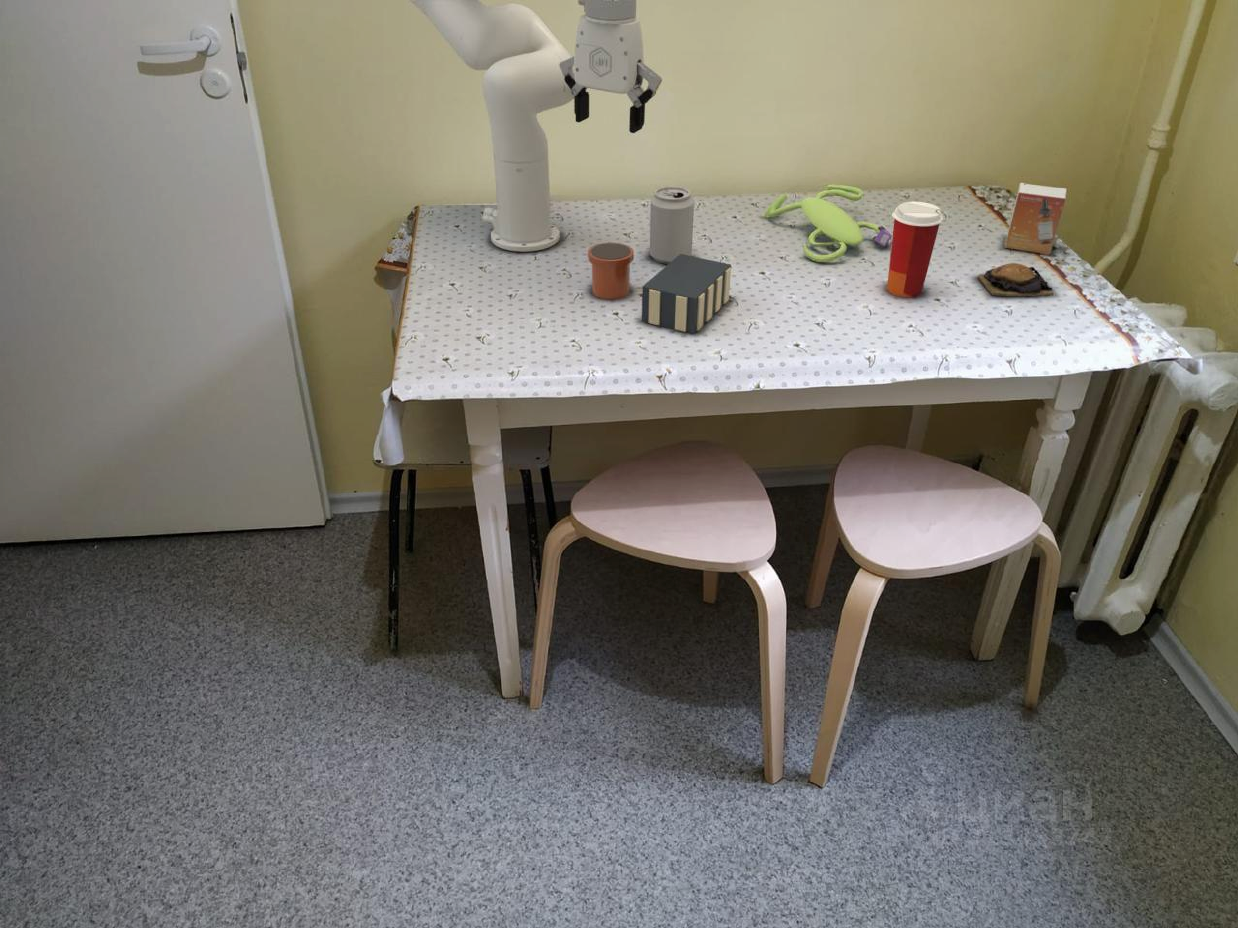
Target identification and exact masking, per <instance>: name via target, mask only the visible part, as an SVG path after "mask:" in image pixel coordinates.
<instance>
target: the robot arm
mask: <svg viewBox="0 0 1238 928" xmlns="http://www.w3.org/2000/svg"><path fill="white" fill-rule="evenodd" d="M409 1H410V2H411V3H412V4H413V5H414V6H415V7H416V8H417V9H419V10H420V12H421V13H422V14H423V15H425V16H426V18H427V19H428V20H429V21H430V22H431V23H432V24H433V26H434V27H435V29H436V30H437V31H438V33H440V35H441V37H443V38H444V40H445V41H446V42H447V44H448V45H449V46H450V47H451V48H452V50H453V51H454V52H455V53H456V55H458V57H459V59H461V61H463V63H464V64H465V65H466V66H467V67H468V68H470V69H472V70H475V71H485V74H484V75H483V78H482V94H483V100H484V103H485V107H486V110H487V115H488V120H489V124H490V131H491V141H492V153H493V162H494V163H493V166H494V178H495V179H494V181H495V193H496V195H495V196H496V206H497V207H496V208H497V209H496V208H492V207H491V208H490V207H486V208H484V210H483V212H482V213H483V215H482V217H481V221H482V223H484V224H492V226H493V229H492V231H491V232H490V240H491V241H490V242H491V243H492V244H493V245H494V246H496V247H497V248H500V249H501V250H506V251H508V252H509V251H510V252H518V253H520V252H521V253H522V252H523V253H527V252H537V251H543V250H546V249H548V248H551V247H553V246H554V245H556V244H557V243H559V241H560V238H561V232H560V230H559V228H558V227H557V226H555V225H554V224H552V217H551V215H552V214H551V192H550V164H549V163H550V162H549V144H548V138H547V135H546V133H545V131H544V129H543V127H542V126H541V124H540V122H539V120H538V117H537V115H538V114H540V113H542V112H545V111H549V110H553V109H556V108H560V107H562V106H564V105H567V104H568V103H570V102H572V101H573V100H574V101H573V105H574V106H573V107H574V109H573V112H574V115H575V122H576V123H581V122H583V121H586V120H587V119H589V118H590V92H589V91H587V89H591V90H597V91H601V92H602V91H603V92H607V93H613V94H619V95H624V94H626V95H627V97H628V98H629V100H630V102H631V103H632V105H631V106H630V107H629V127H628V129H629V133H630V134H635V133H637V132H639V131H641V130H643V127H644V125H645V121H646V120H645V116H646V104H647V103H649V101H650V100H651V99H652V98H654V96H655V95H656V94H657V91H658V89H659V88H660V86H661V84H662V82H663V78H662V76H660V75H659V74H658V73H656V72H655V71H654V70H653V69H651V68H650V67H649V66H647V65H646V64H645V63H644V62H645V59H644V42H643V34H642V27H641V22H640V19H639V18H637V0H577V3H578V5H579V6H583V12H584V14H582V15H580V16H579V21H578V25H577V31H576V36H575V37H576V39H575V45H574V55H572V56H571V54H570V53H569V51H567V49H566V48H565V46H564V45H562V43H561V42H560V41H559V39H558V38H557V37H556V36H555V35H554V33H553V32H552V30H550V29H549V27H547V25H546V24H545V23H544V22H543V20H542V19H541V18H540V17H539V16H538V15H537V13H536V12H534V11H533V10H532V9H531V8H529V7H527V6H526V5H523V4H520V3H503V4H500V5H494V6H492V5H486V4H484V3H482V2H481V0H409ZM644 80H646V81H647V83H648V85H647V88H646V90H644V88H643V86H642V85H643V82H644Z"/></svg>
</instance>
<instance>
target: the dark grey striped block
mask: <svg viewBox="0 0 1238 928" xmlns="http://www.w3.org/2000/svg"><path fill="white" fill-rule="evenodd" d="M731 276H732V264H730V263H726V262H721V261H716V260H713V259H707V258H702V257H699V256H698V257H697V256H692V255H691V256H688V255H683V254H680V255H679V256H677V257H676V258H675V259H674V260H673V261H672V262H670V263H669V264H667V265H666V266H665V267H664V268H662V269H661V270H660V271H659V272H658V273H656V274H655V275H654V276H653V277H652V278H650V279H649V280H648V281H647V282H646V283H645V284H643V285H642V286H641V289H642V291H641V299H642V300H641V322H642V323H647V324H651V325H655V326H658V327H663V328H668V329H672V330H676V331H681V332H684V333H688V334H693V335H695V334H696V333H697V332H699V331H700V330H701V329H702V328H703V327H704V324H705V323H708V322H709V321H710V320H711V319H712V318H713V316H714V314H717V312H718V311H719V310H721V307H722V306H723V305H725V304H727V303H728V301H730V288H731Z"/></svg>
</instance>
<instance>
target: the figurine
mask: <svg viewBox="0 0 1238 928" xmlns="http://www.w3.org/2000/svg"><path fill="white" fill-rule="evenodd" d="M863 195H864V192H863V190H862V189H861V188H859V187H855V186H848V185H843V184H842V185H841V184H839V185H838V184H832V183H831V184H828V185H827V187H826V190H823V191H820V192H818V193H817V194H816V195H815V196H814V197H813V196H808V197H805V198H803V199H802V200H801V201H797V202H794V203H790V204H788V205H785V206H782V205H783V204H784V203H785V202H786V201H787V200H788V196H787V194H785V193H783V194H781V195H780V196H779V197H778V198H777V199H775V200H774V201H773V202H772V203H771V204H770V205H769V206H768V208H767V209H766V211H764V217H765V218H767V219H768V218H776V217H778V216H781V215H783V214H785V213H788V212H792V211H796V210H798V209H801V210H802V212H803V215H804V216H805V217H806V219H807V220H808V221H809V222H810V224H812V226H814V228H816V229H815V230H813V231H812V232H810V234H809V236H808V238H807V242H808V243H807V242H805V243H804V244H803V253H804V255H805V256H806V257H807V258H808V259H809V260H811V261H813V262H816V263H828V262H832V261H835V260H838V259H839V258H841V257H842V256H843V255H844V254H845V253H847V249H848V247H847V245H848V246H858V245H860V244H862V243H863V242H864V234H863V232H862V230H861V228H866V229H869V230H873V231H874V232H876V234H877V235H875V236H873V237H872V240H873V241H874V242H875V243H878V244H879V245H881V246H883V247H886V246H887V245H888V243H889V242H890V240H891V239H892V237H893V234H891V233H890V231H888V230H887V229H886V228H885V227H884V226H882V225H881V226H880V225H879V224H874V223H873V222H868V221H855V220H854V219H853V217H852V216H851V215H849V213H847V212H846V211H844V209H843V208H841V207H840V206H838V205H836V204H834V203H832V202H830V201H828V200H826V199H823V198H826V197H827V198H828V197H841V198H844V199H846V200H849V201H852V202H857V201H860V200H861V199H862V198H863ZM822 234H823V235H824V236H826V237H828V238H829V239H831V240H833V241H831V242H816V241H815V240H816V238H817V237H818V236H820V235H822ZM808 244H810V245H811V246H817V247H819V246H831V245H833V246H834V247H835V249H837V250H836V251H834V252H833V253H830V254H829V253H828V254H823V255H821V254H820V255H817V254H815V253H813V252H811V251H810V250H809V248H808Z"/></svg>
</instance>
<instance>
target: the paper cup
mask: <svg viewBox="0 0 1238 928" xmlns="http://www.w3.org/2000/svg"><path fill="white" fill-rule="evenodd" d="M941 212H942V210H941V208H940V207H939V206H936V205H935V204H932V203H929V202H924V201H906V202H902V203H900V204H898V206H896V207H895V209H894V211H893V212H892V213H891V216H892V218H893V230H892V237H891V247H890V248H891V249H890V256H889V266H888V273H887V274H888V276H887V286H886V287H887V288H886V289H887V291H888V293H890V294H891V295H893V296H895V297H900V298H916V297H918V296H920V295H921V294H922V292H923V289H924V286H925V285H924V284H925V282H926V278H927V274H928V272H929V271H928V270H929V267H930V264H931V263H930V262H931V259H932V255H933V252H934V247H935V245H936V244H935V243H936V241H937V240H936V239H937V236H938V232H939V228H940V224H941V223H942V222H943V220H944V218H943V215H942V213H941Z"/></svg>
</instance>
